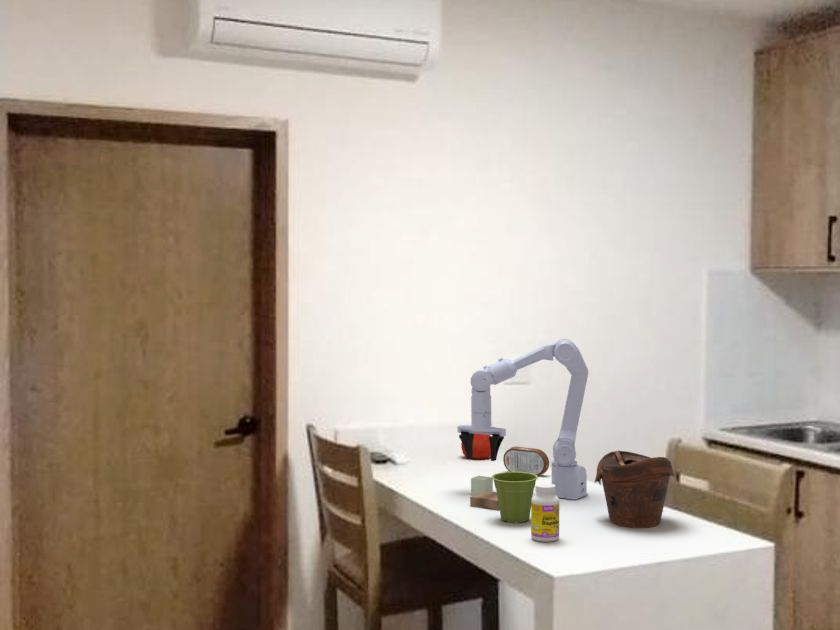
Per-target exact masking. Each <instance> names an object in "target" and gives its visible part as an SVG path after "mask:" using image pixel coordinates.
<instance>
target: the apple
mask: <svg viewBox="0 0 840 630" xmlns="http://www.w3.org/2000/svg"><path fill="white" fill-rule="evenodd" d="M474 432H475V431H474ZM490 436H491V435H486V434H474V438H473V456H472V458H471V459H476V460H477V459H478V460H482V459H488V458H491V448H490V441H489V437H490ZM460 447H461V452H462V454H463V455H464V457H466V458H467V455H466V451H465V448H464V446H463V443H462V441H461V445H460Z"/></svg>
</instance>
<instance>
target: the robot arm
mask: <svg viewBox="0 0 840 630" xmlns="http://www.w3.org/2000/svg"><path fill="white" fill-rule="evenodd" d="M554 358H555V360H556V361H557V362H559V363H560V364H561V365H563V366H564V367H565V369H566V370H567V371H568V373H570V381H569V386H568V389H567V391H568V392H567V395H566V401H565V406H564V410H563V415H562V421H561V427H560V430H559V434H558V438H557V439H556V441H555V442H554V444H553V445H552V446H553V447H552V455H553V456H552V457H553V459H554V460H553V461H551V484H554V485H555V492H554V494H555V495H556V496H557V497H558V498H559V499H567V500H575V501H576V500H579V499H581V498H583V497H586V496H588V495H589V494H588V492H587V491H588V490H587V488H588V487H587V483H588V482H587V476H588V475H587V474H588V473H587V469H586V468H585V466H582V465H578V461H577V460H576V456H577V453H576V445H575V444H576V438H577V432H578V427H579V422H580V416H581V411H582V407H583V402H584V396H585V394H586V388H587V382H588V377H589V369H588V367H587V364H586V362H585V359H584V357H583V355H582V353H581V351H580V348H579V347H578V346H577V345H576V344H575V343H574V342H573V341H571V340H570V339H567V338H562V339H559V340H558V341H554V342H550V343H547V344H543V345H541V346H539V347H537V348H534V349H533V350H531V351H529V352H527V353H525V354H523V355H520V356H519V357H516V358H514V359H511V358H508V357H505V358H503V357H501V358H498V359H497V360H498V361H497V362H494V363H491V364H490V365H484V366H482V368H483V369H478V370H475V372H473V373H472V375H471V377H470V385H471V387H472V388H471V391H470V392H471V396H470V400H471V402H470V403H471V404H470V408H471V409H470V410H471V412H470V413H471V415H470V418H471V424H470V425H466V424H465V425H462V424H460V425H457V429H456V430H457V433H458V435H459V436H458V438H459V439H460V441H461V442H462V443H463V446H464V448H465V451H466V455H467V457H466V459H467V460H470V459H473V458H472V456H473V438H474V434H486V435H490V437H489V441H490V448H491V456H490V461H491V462H495V461H497V457H498V453H499V449H500V447H501V445H502V442H503V441H504V439H505V436H507V429H506V428H502V427H495V426H492V395H491V386H492V385H494V386H496V385H499V384H501V383H502V382H505V381H507V380H509V379H512V378H514V377H516V375H517V372H518V371H519V370H520V369H521V370H522V369H523V368H525V367H528V366H531V365H533V364H535V363H538V362H540V361H543V360H544V361H551V362H552V361H554ZM474 431H475V432H474Z"/></svg>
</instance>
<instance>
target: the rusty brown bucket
mask: <svg viewBox="0 0 840 630" xmlns="http://www.w3.org/2000/svg"><path fill="white" fill-rule="evenodd" d="M671 477H674V478H675V472H674V468H673V466H672V462H671V460H669V458H668V457H666V456H665V457H664V456H656V457H650V456H647V455H643V454H640V453H636V452H632V451H627V450H615V451H611V452H610V451H609V452H608V453H606V454H605V455H603V457H602V458H601V459H600V460H599V461H598V463H597V467H596V474H595V478H594V479H595V480H594V484H595V483H598V484H599V485H600V486H601V483H602V487H603V493H604V497H605V501H606V502H605V503H606V507H607V514H608V518H609V521H611V523H613V524H615V525H619V526H623V527H627V528H637V529H638V528H640V529H641V528H642V529H643V528H651V527H656V526H658V525H660V524H661V522H662V516H663V511H664V507H665V503H666V498H667V493H668V489H669V484H670V479H671Z"/></svg>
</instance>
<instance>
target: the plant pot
mask: <svg viewBox="0 0 840 630" xmlns="http://www.w3.org/2000/svg"><path fill="white" fill-rule="evenodd" d="M491 477H492V479H493V485H494V488H495V489H496V490H495V492H497V497H498V503H499V509H500V510H499V512H500V519H501V521H503V522H508V523H511V524H515V523H516V524H521V523H524V522H525V521H529V520H530V517H531V499H532V497H533V496H534V489H535V488H536V484H537V483H536V482H537V480H538V479H539V476H537V475H535V474H532V473H526V472H509V471H503V472H498V473H494V474H492V475H491Z"/></svg>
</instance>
